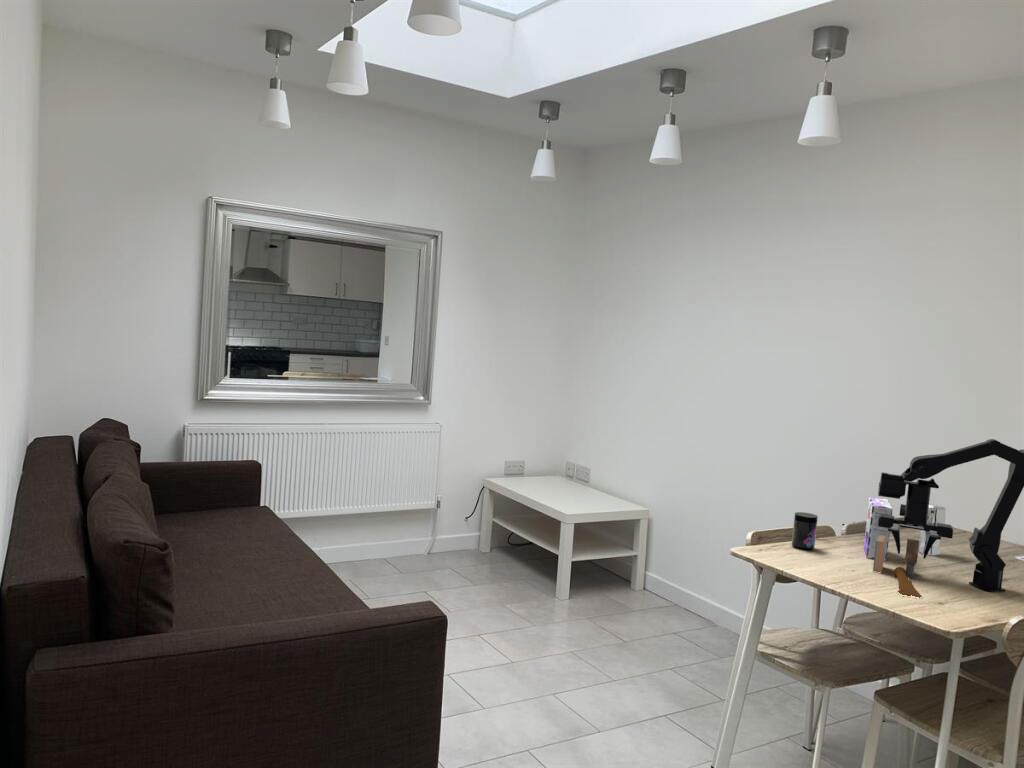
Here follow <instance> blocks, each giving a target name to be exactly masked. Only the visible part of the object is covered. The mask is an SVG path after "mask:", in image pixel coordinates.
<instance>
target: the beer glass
mask: <svg viewBox="0 0 1024 768" xmlns="http://www.w3.org/2000/svg"><path fill="white" fill-rule="evenodd" d="M946 510H947V509H946V507H944V506H941V505H935V504H930V503H929V509H928V518H927V524H928V525H934V526H937V523H942V524H946ZM919 531H920V540H919V548H918V554H922V555H924V551H925V547H926V543H927V540H928V535H929V532H930V531H924V530H919ZM940 542H941V540H938V539H937V540H936V541H935V542H934V544H933V545H932V546H931V548H930V550H929V552H928V554H927V556H930V557H938V556H940Z"/></svg>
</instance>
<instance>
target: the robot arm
mask: <svg viewBox="0 0 1024 768" xmlns="http://www.w3.org/2000/svg"><path fill="white" fill-rule="evenodd" d="M991 456H995V457H998V458H1000V459H1002V460H1004V461H1007V462H1009V466H1008V473H1007V479H1006V481H1005V483H1004V485H1003V488H1002V489H1001V491H1000V494H998V495H999V496H998V498H997V500H996V502H995V504H994V506H993V508H992V510H991V512H990V514H989V517H988V518H987V520H986V523H985V524H984V525H983V526H982V527H981V528H980V529H979V528H977V527H974V529H973V532H972V535H971V537H970V538H968V541H969V549H970V551H971V553H972V554H973V556H974V557H975V558H976V559H977V561H978V563H975V569H974V570H973V578H972V581H969V582H968V585H971V586H973V587H976V588H978V589H980V590H983V591H986V592H1006V591H1007V589H1006V588H1005V587H1004V588H1003V587H1002V585H1003V576H1004V569H1005V568H1006V563H1005V562H1004V560H1003V559H1002V558H1001V556H1000V555H999V554H998V553H999V549H1000V544H1001V540H1002V539H1001V538H1002V533H1003V531H1004V528H1005V526H1006V524H1007V523H1008V519H1009V518H1010V515H1011V513H1012V511H1013V510H1014V508H1015V505H1016V504H1017V502H1018V501H1019V497H1020V496H1021V493H1022V492H1023V489H1024V449H1019V450H1018V449H1016V448H1014V447H1013V446H1010V445H1008V444H1004V443H1002V442H1001V441H999V440H997V439H994V438H990V439H987V440H986V441H982V442H979V443H975V444H973V445H968V446H965V447H961V448H958V449H955V450H952V451H948V452H944V453H937V454H925V455H918V456H915V457H913V458H912V459H911V460H910V463H909V467H908V468H906V469H905V470H904V471H903V472H902V473H901V474H900V475H899V474H893V473H888V472H883V471H882V472H881V473H880V480H879V482H878V492H877V495H878V497H883V498H890V499H891V498H892V499H897V500H901V497H905V495H906V501H905V504H900V508H899V516H900V517H904V519H903V520H902V519H896V518H895V515H892V516H891V515H885V514H881V515H880V516H879V520H878V526H879V527H885V528H888V531H890V533H891V534H892V537H893V539H894V542H895V545H896V550H897V554H898V555H900V554H901V528H907V529H913V530H917V531H920V530H924V531H930V532H929V535H928V540H927V543H926V547H925V551H924V554H923V559H926V557H927V556H928V555H927V554H928V552H929V550H930V548H931V546H932V545H933V544H934V542H935V541H936V540H937V539H938V540H940V541H941V540H942V538H944V539H945V538H946V539H947V538H948V539H953V535H954V527H953V526H952V525H951V524H947V523H945V524H942V523H937V526H934V525H928V524H927V518H928V509H929V504H930V500H931V499H930V498H931V491H932V490H931V489H939V488H940V486H939V484H938V483H937V482H936V481H935V479H934V478H932V477H933V476H936V475H938V474H940V473H942V472H943V471H945V470H947V469H949V468H952V467H956V466H958V465H963V464H965V463H966V464H967V463H970V462H973V461H976V460H981V459H984V458H987V457H991ZM927 479H929V480H927ZM906 489H907V494H906Z"/></svg>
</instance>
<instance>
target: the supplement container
mask: <svg viewBox="0 0 1024 768" xmlns="http://www.w3.org/2000/svg"><path fill="white" fill-rule="evenodd" d="M793 519H794V520H793V529H792V539H791V546H792V547H793V548H794V549H797V550H801V551H806V552H807V551H813V550H815V545H816V544H815V543H816V535H817V528H818V527H817V525H818V519H819V516H818V515H817V514H814V513H809V512H800V511H797V512H794V518H793Z"/></svg>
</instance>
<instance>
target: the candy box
mask: <svg viewBox="0 0 1024 768" xmlns="http://www.w3.org/2000/svg"><path fill="white" fill-rule="evenodd" d="M867 505H868V506H867V515H866V522H865V524H866V525H865V532H864V533H865V535H864V541H863V550H864V553H865V554H864V555H865V557H866V558H867V559H870V558H872V559H871V560H874V556H875V547H876V540H877V537H878V536H879V535H880V536H886V545H885V554H884V562H887V558H888V551H889V540H890V533H891V531H888V528H885V527H879V526H878V520H879V516H880V515H881V514H885V515H891V516H893V507H892V505H891V503H890V501H889V499H886V498H885V499H884V498H876V497H871V496H870V497H868V504H867Z"/></svg>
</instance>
